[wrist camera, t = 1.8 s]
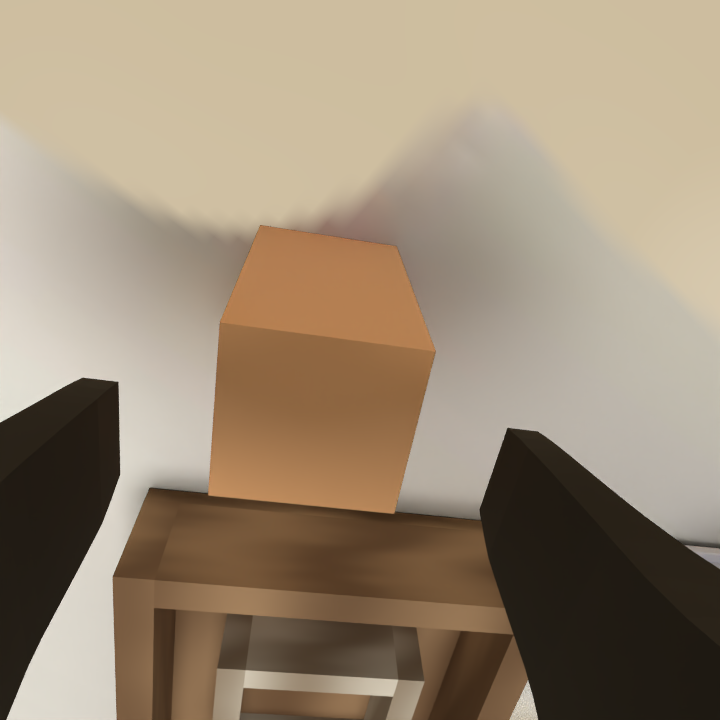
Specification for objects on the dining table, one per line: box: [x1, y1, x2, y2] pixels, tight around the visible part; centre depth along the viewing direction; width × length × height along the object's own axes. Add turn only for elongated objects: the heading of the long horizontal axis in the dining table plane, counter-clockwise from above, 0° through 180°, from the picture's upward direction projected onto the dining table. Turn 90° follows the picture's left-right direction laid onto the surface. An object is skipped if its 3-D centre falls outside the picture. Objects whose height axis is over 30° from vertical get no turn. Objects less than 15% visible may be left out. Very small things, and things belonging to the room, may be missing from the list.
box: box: [113, 488, 528, 720], centre depth 24 cm, size 14×18×4 cm
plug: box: [208, 225, 436, 514], centre depth 15 cm, size 4×4×7 cm
